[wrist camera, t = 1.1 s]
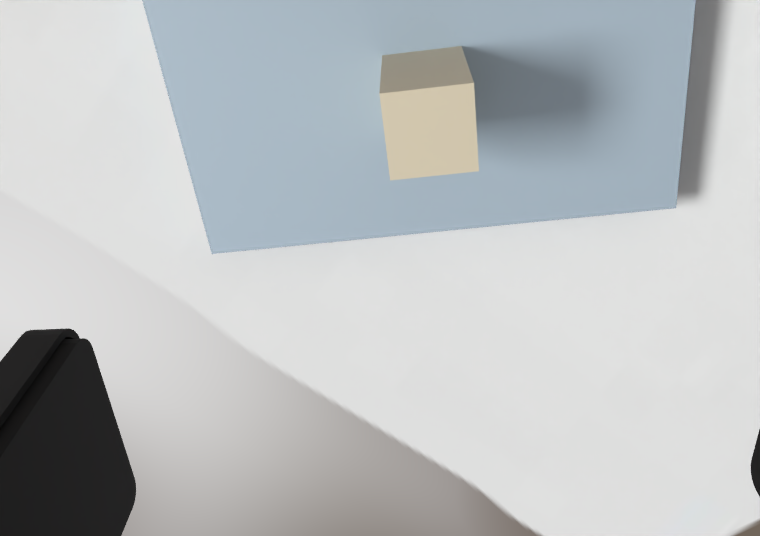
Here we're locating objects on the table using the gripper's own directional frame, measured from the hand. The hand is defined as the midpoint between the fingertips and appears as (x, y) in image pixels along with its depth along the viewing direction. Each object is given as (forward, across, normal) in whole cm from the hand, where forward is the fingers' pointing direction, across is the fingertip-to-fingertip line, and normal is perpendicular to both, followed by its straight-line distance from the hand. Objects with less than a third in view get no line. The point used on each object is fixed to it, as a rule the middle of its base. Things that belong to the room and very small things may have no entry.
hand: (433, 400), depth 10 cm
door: (+21, 0, +1) cm, 21 cm away
